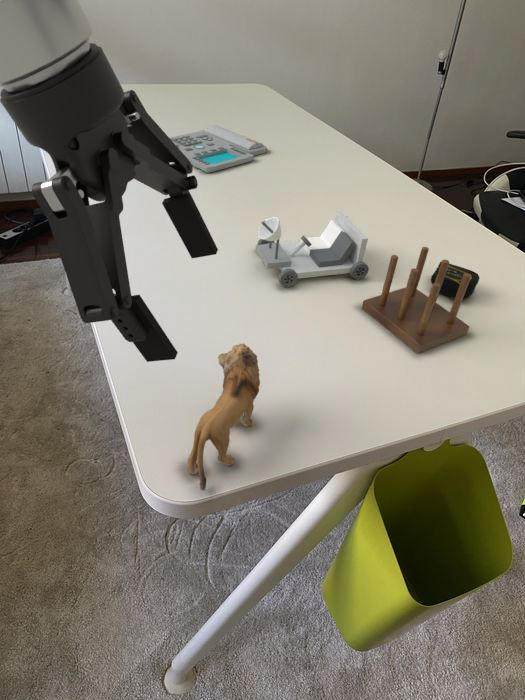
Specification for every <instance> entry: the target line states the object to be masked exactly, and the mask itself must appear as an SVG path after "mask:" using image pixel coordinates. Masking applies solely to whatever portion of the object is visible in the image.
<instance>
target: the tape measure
mask: <svg viewBox="0 0 525 700" xmlns="http://www.w3.org/2000/svg"><path fill="white" fill-rule="evenodd" d="M441 263H442V260H441V261H440V262H439V263H438V266H437V267H436V269H435V270H434V272H433V273H432V275H431V278H430V282H431V283H430V284H431V285H432V284H433V283H435V281H436V278H437V275H438V272H439V269H440V266H441ZM465 273H468V274H470V275H471V278H470V281H469V284H468V286H467V289H466V292H465V294H464V297H463V300H465V299H468V298H470V297H471V296H472V295H473V294H474V292H475V290H476V287H477V286H478V283H479V281H480V276H479V274H478V273H477V272H476V271H473V270H471V269H468V268H465V267H461V266H459V265H456V264H452V263H449V265H448V268H447V271H446V274H445V277H444V280H443V283H442V286H441V289H440V292H439V295H441V296H443V297H446V298H449V299H454V300H455V297H456V294H457V292H458V289H459V286H460V283H461V281H462V278H463V275H464V274H465Z"/></svg>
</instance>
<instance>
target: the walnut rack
mask: <svg viewBox="0 0 525 700" xmlns="http://www.w3.org/2000/svg"><path fill="white" fill-rule="evenodd" d="M429 249H430V248H429V247H427V246H422V247H421V250H420V254H419V257H418V261H417V262H416V263H417V264H416V267H415V268H411V269H410V271H409V276H408V279H407V282H406V285H405V287H403V288H399V289H396V290H393V291H390V290H391V287H392V284H393V279H394V275H395V272H396V269H397V265H398V261H399V256H398V255H396V254H392V255H391V256H390V259H389V263H388V267H387V271H386V275H385V279H384V282H383V286H382V290H381V294H380V295H376V296H373V297H370V298H366V299H364V300H363V302H362V305H361V309H362V310H363V311H364V312H365V313H367V314H368V315H369V316H370V317H372V318H373V319H374V320H375V321H377V322H378V323H379V324H380V325H382V326H383V327H384V328H385V329H386V330H388V331H389V332H390V333H391V334H392V335H394V336H395V337H396V338H398V339H399V340H400V341H401V342H402V343H404V344H405V345H406V346H407V347H409V348H410V349H411V350H412V351H414V352H415V354H421V353H422V352H425V351H427V350H430V349H433V348H436V347H439V346H441V345H443V344H446V343H448V342H451V341H453V340H456V339H460V338H462V337H464V336H466V335H467V334H468V332H469V330H470V328H471V327H470V325H468V324H467V323H466V322H464V321H463V320H461V319H460V318H459V317H457V316H458V312H459V310H460V308H461V305H462V302H463V300H464V299H463V297H464V294H465V292H466V289H467V286H468V284H469V281H470V278H471V275H470V274H468V273H465V274H464V275H463V278H462V281H461V283H460V286H459V289H458V292H457V294H456V297H455V299H454V301H453V303H452V305H451V308H450V311H449V310H447V308H445V307H443V306H442V305H440V304H439V303H437V300H438V297H439V295H440V294H439V292H440V289H441V286H442V283H443V280H444V277H445V274H446V271H447V268H448V265H449V264H450V261H449V260H448V259H442V260H441V261H442V263H441V266H440V269H439V272H438V275H437V278H436V281H435V283H433V284H432V283H431V288H430V291H429V294H428V296H427V295H426V294H424V293H423V292H422V291H420V290H419V289H418V286H419V284H420V283H419V282H420V280H421V277H422V275H423V274H422V273H423V270H424V267H425V263H426V262H427V261H426V260H427V258H428V254H429Z"/></svg>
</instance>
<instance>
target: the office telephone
mask: <svg viewBox="0 0 525 700" xmlns="http://www.w3.org/2000/svg"><path fill="white" fill-rule="evenodd" d="M169 138H170V139H171V140H172V142H173V143H174V144H175V145H176V146H177V147H178V148H179V149H180V151H181V152H182V153H183V154H184V155H185V156H186V157H187V158H188V160H189V161H190V162H191V164H192V167H195V168H198V169H200V170H201V171H204V173H212V172H216V171H220V170H223V169H228V168H231V167H235V166H239V165H243V164H247V163H250V162H252V161H254V156H258V155H262V154H266V153H267V152H268V151H267V150H268V147H267V145H264V144H263V143H262V142H260V141H257V140H255V139H252V138H249V137H247V136H244V135H242V134H240V133H237V132H235V131H233V130H230V129H227V128H224V127H222V126H220V125H218V124H217V125H216V124H214V125H210V126H208V127H206V129H204V130H199V131H194V132H190V133H185V134H180V135H176V136H170V137H169Z"/></svg>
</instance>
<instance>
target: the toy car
mask: <svg viewBox="0 0 525 700" xmlns="http://www.w3.org/2000/svg"><path fill="white" fill-rule="evenodd" d="M281 236H282V227H281V220H280V218H279V217H276V216H274V217H268V218H265V220H264V221H263V220H262V222H261V225H260V226H259V228H258V231H257V237H258V238H259V240H258V241H257V243H256V245H255V252H256V254H257V256H258V257H259V258H260V260H261V262H262V263H263V265H264V267H265V268H266V269H267V270H272V269H273V270H274V269H278V270H279V271H280V273H279V275H278V279H277V280H278V283H279V284H280V285H281V286H282V287H283V288H291V287H293V286H295V284H296V283H297V282H298V279H305V278H306V279H307V278H315V277H316V278H317V277H324V276H335V275H343V274H344V275H345V274H349V275H350V276H351V277H352V279H354V280H357V281H358V280H359V281H360V280H362V279H364V278H365V277H366V276H368V273H369V271H370V267H369V265H368V264H367V263H366V262H365V261H364V259H365V253H366V250H367V244H368V241H369V237H367V235H365V234H364V232H362V231H361V229H359V228H358V226H357V225H355V223H353V221H352V220H351V219H350V218H349V217H348V216H347V215H346V214H345V213H344V212H343V211H342V210H337V211H335V216H334V220H333V219H331V220H330V221H329V223H328V224H327V226H326V228H325V229H324V230H323V232H322V233H321V234H320V236H312V237H306V236H305V235H302V236H301V237H300V240H292V241H291V240H290V241H280V239H281Z"/></svg>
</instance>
